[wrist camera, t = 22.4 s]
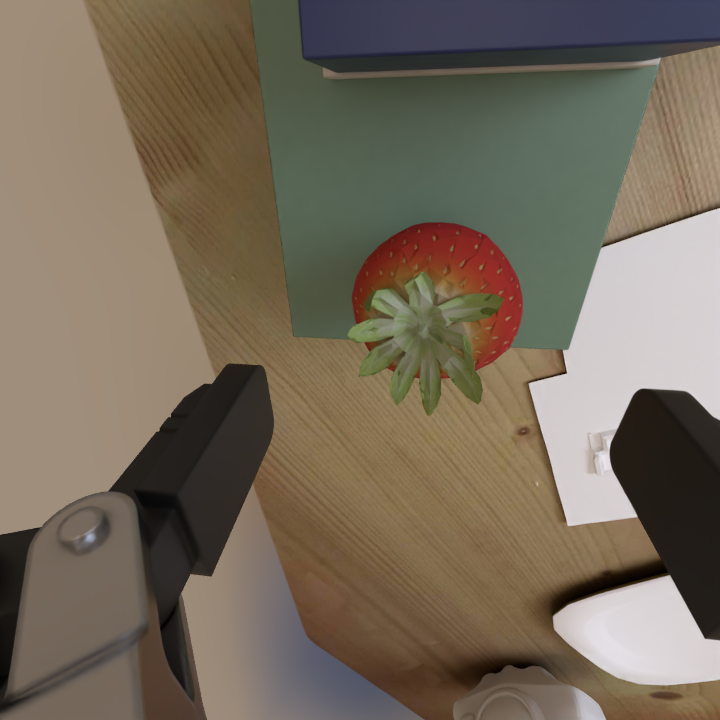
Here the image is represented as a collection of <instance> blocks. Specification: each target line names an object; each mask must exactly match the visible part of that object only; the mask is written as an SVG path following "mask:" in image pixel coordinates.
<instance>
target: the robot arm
mask: <svg viewBox="0 0 720 720" xmlns="http://www.w3.org/2000/svg"><path fill="white" fill-rule="evenodd" d="M273 428H274V417H273V411H272V405H271V400H270V394H269V388H268V383H267V377H266V372H265V369H264V367H263V366H261V365H248V364H227V365H226V366H225V367H224V369H223V370H222V371H221V373H220V374H219V375H218V377H217V378H216V379H215V381H214V382H213V383H212V384H203V385H202V386H200V387H199V388H198V389H196V390H195V391H193V392H192V393H190V394H189V395H187V396H186V397H184V398H183V400H182V401H181V402H180V403H179V405H178V406H177V407H176V408H175V410H174V411H173V412H172V413H171V417H168V418H167V419H166V421H165V422H164V423H163V424H162V426H161V427H160V431H159V432H156V433H155V434H154V436H153V437H152V438H151V439H150V441H149V442H148V443H147V444H146V445H145V447H144V448H143V449H142V450H141V452H140V453H139V454H138V455H137V457H136V458H135V459H134V460H133V462H132V463H131V464H130V465H129V467H128V468H127V469H126V470H125V471H124V473H123V474H122V475H121V476H120V478H119V479H118V480H117V481H116V483H115V484H114V485H113V486H112V487H111V489H110V490H109V491H108V492H100V493H95V494H92V495H89V496H86V497H83V498H81V499H79V500H76V501H74V502H73V503H71V504H69V505H67V506H66V507H64V508H63V509H61V510H59V511H58V512H57V513H56V514H54V515H53V516H52V517H51V518H50V519H49V520H48V521H47V522H45V523H44V525H43V526H42V527H40V528H34V529H29V530H24V531H18V532H13V533H8V534H2V535H0V720H207V718H206V715H205V711H204V707H203V703H202V698H201V693H200V688H199V682H198V677H197V671H196V666H195V661H194V655H193V650H192V645H191V640H190V634H189V628H188V623H187V618H186V613H185V607H184V602H183V598H182V595H181V592H182V590H183V588H184V586H185V584H186V582H187V580H188V578H189V576H190V574H195V575H204V576H212V574H213V572H214V569H215V567H216V565H217V563H218V560H219V558H220V556H221V553H222V551H223V549H224V547H225V544H226V542H227V540H228V538H229V535H230V533H231V531H232V529H233V526H234V524H235V522H236V519H237V517H238V515H239V513H240V510H241V508H242V506H243V503H244V501H245V499H246V497H247V494H248V492H249V490H250V488H251V485H252V483H253V481H254V478H255V476H256V474H257V472H258V469H259V467H260V465H261V463H262V460H263V458H264V456H265V453H266V451H267V449H268V447H269V444H270V442H271V439H272V434H273ZM609 455H610V463H611V467H612V470H613V472H614V474H615V476H616V478H617V479H618V481H619V483H620V485H621V487H622V488H623V490H624V492H625V494H626V496H627V498H628V499H629V501H630V503H631V505H632V507H633V509H634V510H635V512H636V514H637V516H638V518H639V520H640V521H641V523H642V525H643V527H644V529H645V531H646V532H647V534H648V536H649V538H650V540H651V541H652V543H653V545H654V547H655V549H656V551H657V552H658V554H659V556H660V558H661V560H662V562H663V563H664V565H665V567H666V569H667V571H668V573H669V574H670V576H671V578H672V580H673V582H674V583H675V585H676V587H677V589H678V591H679V593H680V594H681V596H682V598H683V600H684V602H685V604H686V605H687V607H688V609H689V611H690V613H691V615H692V616H693V618H694V620H695V622H696V624H697V626H698V627H699V629H700V631H701V633H702V635H703V636H704V638H705V639H711V640H719V641H720V420H718V419H717V418H714V417H713V416H712V415H711V414H710V413H709V412H708V411H707V410H706V409H705V408H704V407H703V406H702V405H701V404H700V403H699V402H698V401H697V400H696V399H695V398H694V397H693V396H692V395H691V394H690V393H688V392H686V391H680V390H663V389H646V388H643V389H639V390H638V391H637V392H635V394H634V395H633V397H632V399H631V401H630V403H629V405H628V407H627V409H626V411H625V414H624V416H623V418H622V420H621V422H620V424H619V427H618V429H617V431H616V433H615V435H614V437H613V439H612V442H611V445H610V453H609Z"/></svg>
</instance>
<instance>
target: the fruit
mask: <svg viewBox="0 0 720 720" xmlns="http://www.w3.org/2000/svg"><path fill="white" fill-rule="evenodd" d="M352 304H353V310H354V317H355V321H356V324H357V325H354V326H353V327H351V328H350V330H349V332H348V334H347V336H348V337H349V338H350V339H351V340H352V341H355V342H358V343H359V342H365V344H366V346H367V348H368V350H369V351H370V352H369V354H368V355H367V356H366V357H365V359H364V360H363V362H362V364H361V367H360V374H359V377H361V376H367V375H373V374H376V373H378V372H380V371H382V370H384V369H386V368H388V369H390V370H392V371H394V374H393V376H392V378H391V386H390V393H391V395H392V397H393V399H394V401H395V403H396V405H398V404H399V403H400V402H401V401H402V400H403V398H404V397H405V396H406V394H407V393H408V391H409V389H410V387H411V385H412V382H413V380H414V378H420V381H419V385H420V391H421V396H422V402H423V406H424V409H425V411H426V413H427V415H428V416H429V415H431V414H432V412H433V411H434V409H435V408H436V407H437V404H438V401H439V398H440V396H441V378H451V380H452V381H453V382H454V383H455V385H456V386H457V387H458V388H459V389H460V390H461V391H462V392H463V393H464V394H465V395H466V396H467V397H468V398H469V399H471V400H472V401H474V402H475V403H476V404H479V403H480V401H481V396H482V391H483V389H482V384H481V380H480V377H479V376H478V374H477V373H476V372H475V371H476V370H478V369H480V368H482V367H484V366H486V365H488V364H490V363H492V362H493V361H494V360H496V359H497V358H498V357H499V356H500V355H502V354H503V353H504V352H505V351H506V350H508V349H509V348H510V346H511V344H512V342H513V341H514V339H515V337H516V335H517V333H518V330H519V327H520V324H521V319H522V313H523V297H522V292H521V288H520V283H519V279H518V277H517V275H516V273H515V271H514V269H513V268H512V266H511V264H510V262H509V261H508V259H507V258H506V257H505V255H504V254H503V253H502V251H501V250H500V248H499V247H498V246H497V245H496V244H495V243H493V242H492V240H491V239H490V238H489V237H488V236H487V235H485V234H483V233H481V232H478V231H476V230H473V229H471V228H469V227H466V226H462V225H459V224H455V223H445V222H426V223H421V224H416V225H412V226H410V227H408V228H406V229H404V230H402V231H400V232H398V233H397V234H395V235H393V236H391V237H390V238H389V239H388V240H386V241H385V242H383V243H382V244H381V245H379V246H378V247H377V248H376V249H375V251H374V252H373V253H372V254H371V255H370V256H369V257H368V258H367V259H366V261H365V262H364V264H363V266H362V267H361V269H360V271H359V273H358V275H357V277H356V280H355V284H354V289H353V293H352Z"/></svg>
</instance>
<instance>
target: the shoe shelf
mask: <svg viewBox="0 0 720 720" xmlns="http://www.w3.org/2000/svg"><path fill="white" fill-rule="evenodd" d="M249 1H250V9H251V17H252V24H253V32H254V40H255V47H256V55H257V63H258V70H259V78H260V85H261V93H262V101H263V108H264V116H265V124H266V131H267V139H268V146H269V154H270V162H271V169H272V177H273V185H274V192H275V200H276V207H277V215H278V223H279V230H280V238H281V246H282V253H283V261H284V269H285V276H286V284H287V291H288V299H289V307H290V314H291V322H292V330H293V336H294V337H312V338H332V339H350V338H349V337H348V336H347V334H348V332H349V330H350V328H351V327H353V326H354V325H357V324H356V321H355V317H354V310H353V304H352V293H353V289H354V284H355V280H356V277H357V275H358V273H359V271H360V269H361V267H362V266H363V264H364V262H365V261H366V259H367V258H368V257H369V256H370V255H371V254H372V253H373V252H374V251H375V249H376V248H377V247H378V246H379V245H381V244H382V243H383V242H385V241H386V240H388V239H389V238H390V237H391V236H393V235H395V234H397V233H398V232H400V231H402V230H404V229H406V228H408V227H410V226H412V225H416V224H421V223H426V222H445V223H455V224H459V225H462V226H466V227H469V228H471V229H473V230H476V231H478V232H481V233H483V234H485V235H487V236H488V237H489V238H490V239H491V240H492V242H493V243H495V244H496V245H497V246H498V247H499V248H500V250H501V251H502V253H503V254H504V255H505V257H506V258H507V259H508V261H509V262H510V264H511V266H512V268H513V269H514V271H515V273H516V275H517V277H518V279H519V283H520V288H521V292H522V297H523V313H522V319H521V324H520V327H519V330H518V333H517V335H516V337H515V339H514V341H513V342H512V344H511V346H510V347H515V348H535V349H555V350H568V349H569V347H570V344H571V340H572V337H573V334H574V331H575V328H576V325H577V322H578V319H579V315H580V312H581V309H582V306H583V303H584V300H585V297H586V294H587V290H588V287H589V284H590V281H591V278H592V275H593V272H594V269H595V265H596V262H597V259H598V256H599V253H600V250H601V247H602V244H603V240H604V237H605V234H606V231H607V228H608V225H609V222H610V219H611V215H612V212H613V209H614V206H615V203H616V200H617V197H618V193H619V190H620V187H621V184H622V181H623V178H624V175H625V172H626V168H627V165H628V162H629V159H630V156H631V153H632V150H633V147H634V143H635V140H636V137H637V134H638V131H639V128H640V125H641V122H642V118H643V115H644V112H645V109H646V106H647V103H648V100H649V97H650V93H651V90H652V87H653V84H654V81H655V78H656V75H657V72H658V68H659V65H660V62H661V59H662V58H661V59H660V62H659V64H658V65H656V66H650V67H645V68H628V69H601V70H574V71H546V72H519V73H492V74H464V75H437V76H410V77H382V78H355V79H327V78H325V77H323V67H321V66H319V65H316V64H314V63H311V62H309V61H307V60H304V59H303V56H302V45H301V33H300V21H299V9H298V0H249Z"/></svg>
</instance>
